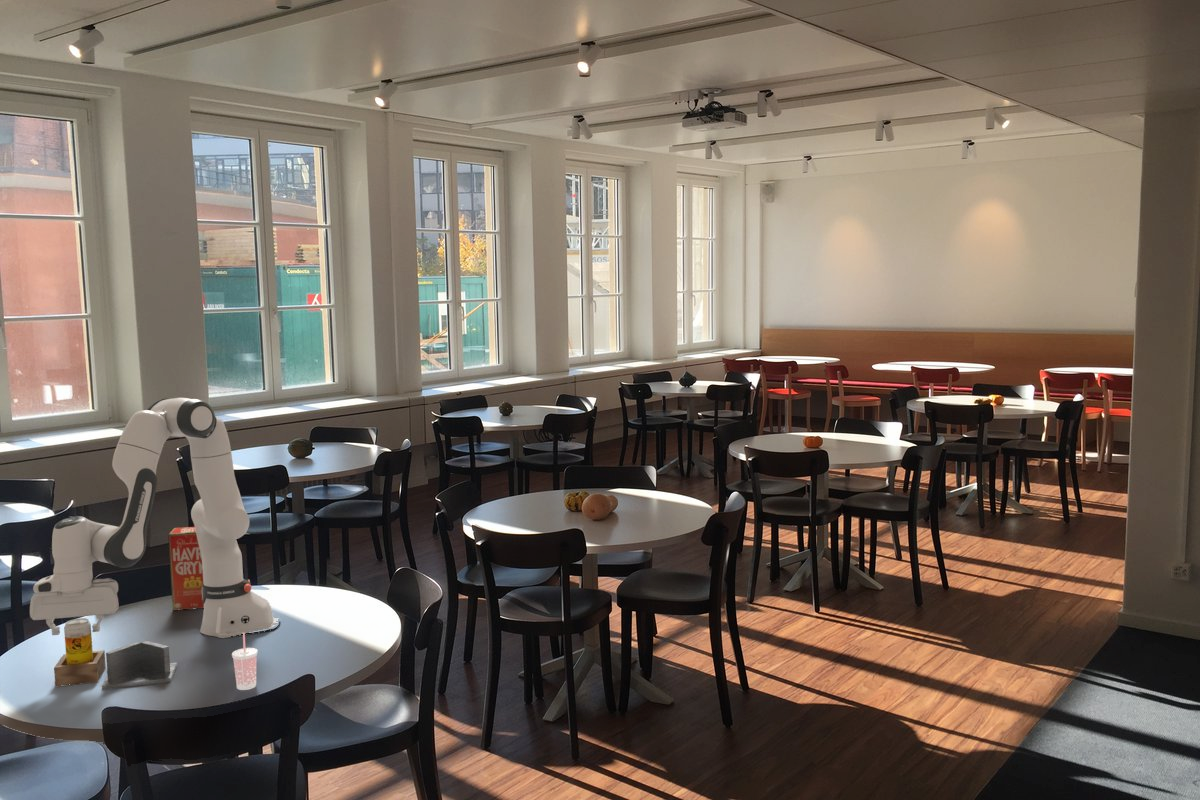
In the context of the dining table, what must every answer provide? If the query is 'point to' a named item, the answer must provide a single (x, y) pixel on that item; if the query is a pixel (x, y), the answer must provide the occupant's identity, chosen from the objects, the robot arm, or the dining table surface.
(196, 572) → the food packaging
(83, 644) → the beer can
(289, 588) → the dining table surface
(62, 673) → the walnut sleeve
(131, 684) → the V-block
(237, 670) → the beverage cup
